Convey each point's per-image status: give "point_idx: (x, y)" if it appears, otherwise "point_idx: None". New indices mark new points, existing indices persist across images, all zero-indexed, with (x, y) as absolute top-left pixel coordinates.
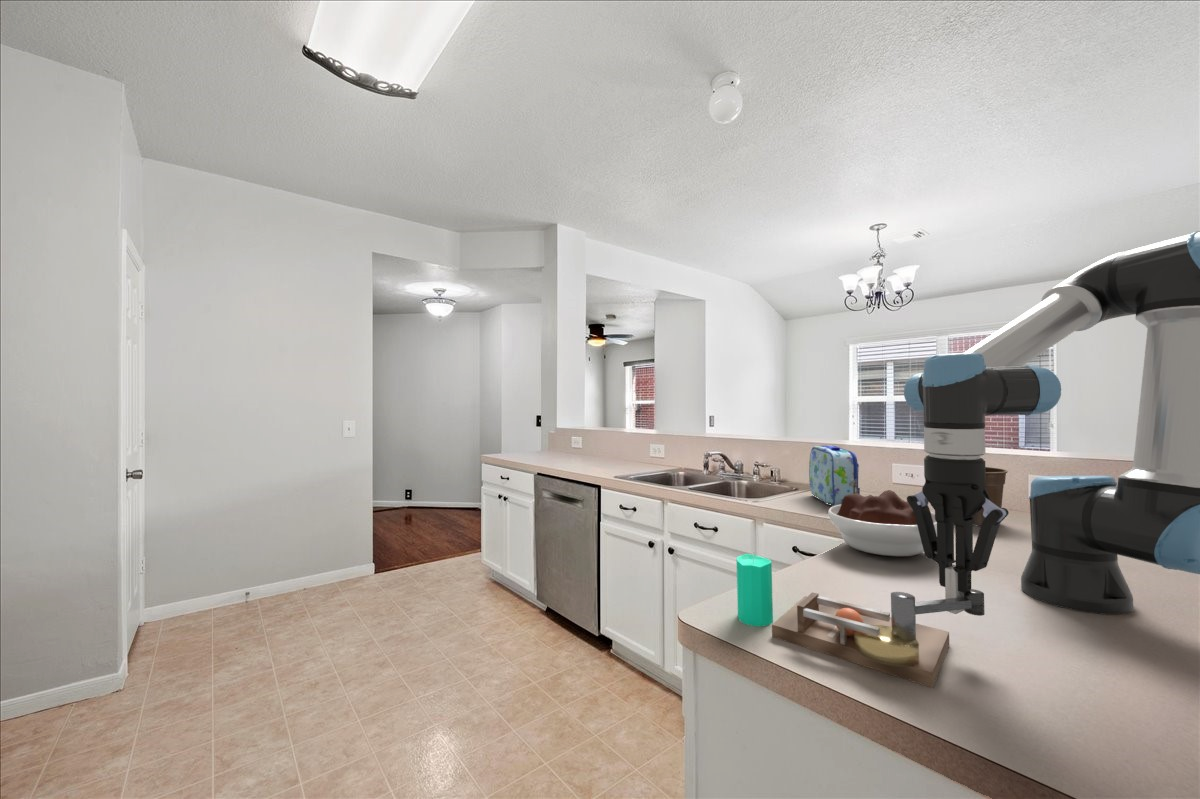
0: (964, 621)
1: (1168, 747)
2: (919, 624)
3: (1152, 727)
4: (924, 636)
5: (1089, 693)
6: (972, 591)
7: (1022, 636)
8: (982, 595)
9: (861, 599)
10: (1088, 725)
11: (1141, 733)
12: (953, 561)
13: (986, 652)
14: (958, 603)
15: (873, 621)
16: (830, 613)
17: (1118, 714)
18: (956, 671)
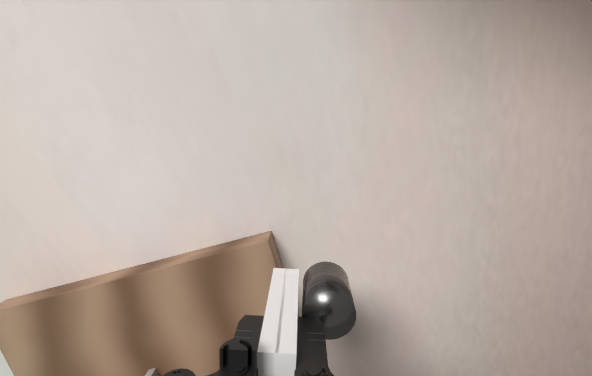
0: (234, 74)
1: (587, 304)
2: (213, 255)
3: (571, 263)
4: (249, 303)
5: (491, 223)
6: (324, 314)
7: (347, 50)
8: (354, 319)
9: (29, 153)
10: (503, 329)
11: (559, 294)
12: (254, 371)
13: (328, 205)
14: None
15: (152, 318)
16: (81, 352)
17: (532, 261)
18: None
